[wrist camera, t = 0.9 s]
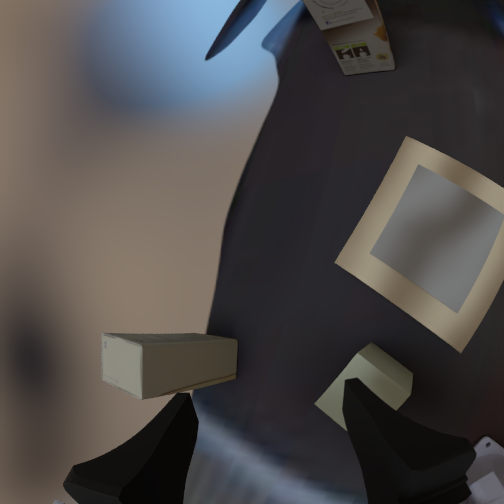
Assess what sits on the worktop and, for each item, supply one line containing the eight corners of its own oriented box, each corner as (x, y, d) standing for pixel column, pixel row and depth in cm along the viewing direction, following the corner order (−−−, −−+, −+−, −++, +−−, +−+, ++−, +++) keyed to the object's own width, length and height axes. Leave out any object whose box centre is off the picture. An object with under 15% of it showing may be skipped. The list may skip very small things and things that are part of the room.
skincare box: (193, 368, 31) (100, 380, 21) (194, 330, 31) (99, 331, 21) (238, 379, 27) (141, 403, 17) (240, 337, 28) (140, 344, 18)
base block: (520, 219, 15) (532, 207, 13) (455, 347, 17) (461, 353, 15) (409, 153, 22) (405, 134, 19) (344, 267, 24) (333, 261, 21)
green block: (413, 373, 19) (410, 394, 14) (377, 414, 20) (363, 443, 15) (371, 342, 21) (357, 352, 16) (338, 383, 22) (314, 403, 17)
